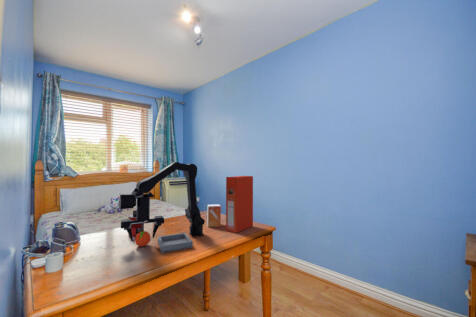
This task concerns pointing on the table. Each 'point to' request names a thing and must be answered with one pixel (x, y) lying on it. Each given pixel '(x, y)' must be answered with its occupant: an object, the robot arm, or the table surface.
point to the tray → (174, 242)
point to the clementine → (142, 238)
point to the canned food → (135, 226)
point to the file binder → (239, 203)
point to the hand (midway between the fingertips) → (142, 239)
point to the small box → (213, 215)
